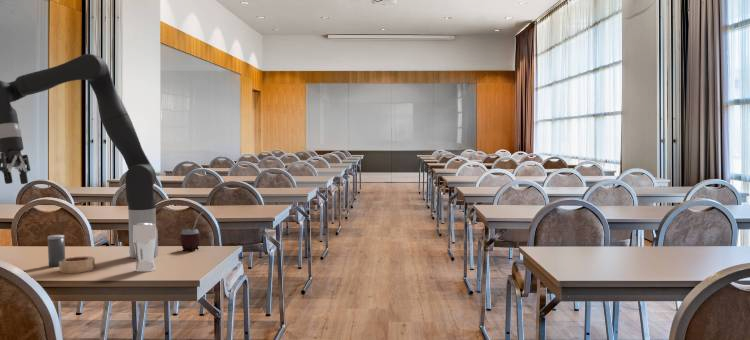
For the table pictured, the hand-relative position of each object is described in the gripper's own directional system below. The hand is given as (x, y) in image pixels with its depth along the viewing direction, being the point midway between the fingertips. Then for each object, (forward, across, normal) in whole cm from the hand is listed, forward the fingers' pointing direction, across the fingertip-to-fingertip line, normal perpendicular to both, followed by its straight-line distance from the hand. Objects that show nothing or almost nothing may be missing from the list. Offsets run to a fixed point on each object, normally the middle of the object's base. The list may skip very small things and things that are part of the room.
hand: (17, 183), depth 214 cm
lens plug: (+30, -4, -12) cm, 33 cm away
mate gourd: (+35, +24, -48) cm, 64 cm away
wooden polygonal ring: (+33, -12, -22) cm, 41 cm away
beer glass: (+37, -12, -45) cm, 60 cm away
